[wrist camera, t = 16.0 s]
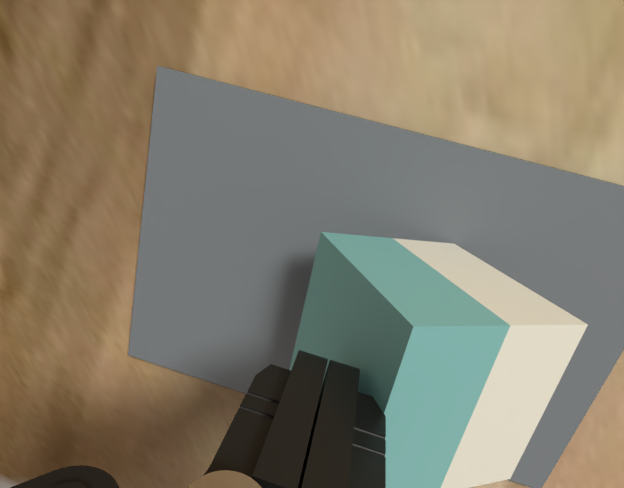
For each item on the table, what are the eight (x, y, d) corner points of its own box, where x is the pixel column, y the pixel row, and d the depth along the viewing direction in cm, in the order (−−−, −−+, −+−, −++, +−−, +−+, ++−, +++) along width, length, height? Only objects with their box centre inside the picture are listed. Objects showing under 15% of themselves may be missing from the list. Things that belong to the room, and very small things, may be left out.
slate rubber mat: (133, 350, 18) (128, 355, 18) (163, 67, 14) (157, 65, 14) (536, 482, 17) (540, 490, 16) (698, 205, 13) (707, 207, 12)
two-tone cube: (350, 512, 9) (510, 479, 11) (413, 326, 8) (587, 324, 10) (289, 370, 14) (412, 363, 16) (321, 231, 12) (454, 243, 14)
